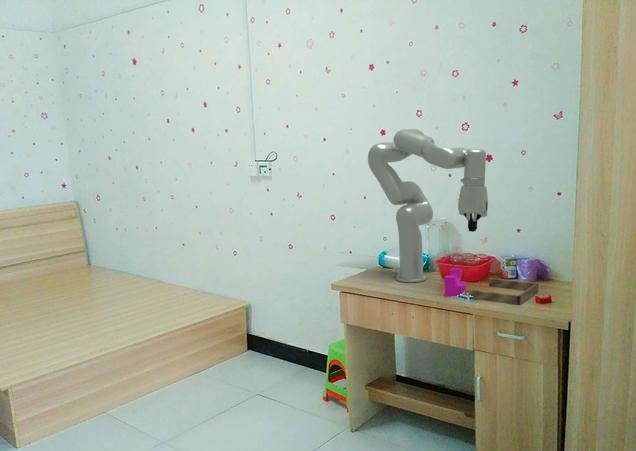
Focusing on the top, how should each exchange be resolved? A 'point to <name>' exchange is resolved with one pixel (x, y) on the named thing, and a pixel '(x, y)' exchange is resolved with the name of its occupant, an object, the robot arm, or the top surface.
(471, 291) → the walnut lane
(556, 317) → the top surface
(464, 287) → the toy block
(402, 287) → the top surface
